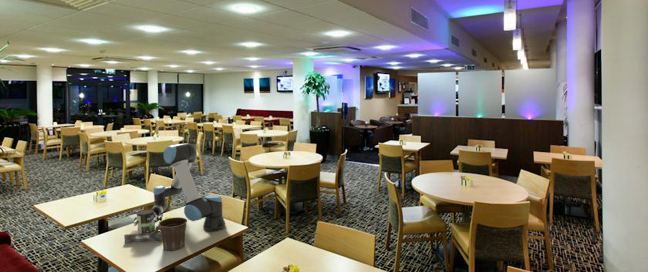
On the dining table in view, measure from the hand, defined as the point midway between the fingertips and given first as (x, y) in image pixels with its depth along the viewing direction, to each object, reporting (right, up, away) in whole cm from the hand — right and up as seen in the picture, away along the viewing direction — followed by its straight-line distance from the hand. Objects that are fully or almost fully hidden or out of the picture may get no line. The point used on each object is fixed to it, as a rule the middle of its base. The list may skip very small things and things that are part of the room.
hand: (143, 223), depth 225 cm
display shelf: (-1, -11, +6) cm, 12 cm away
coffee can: (-1, -7, +5) cm, 9 cm away
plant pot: (+23, -13, -7) cm, 27 cm away
